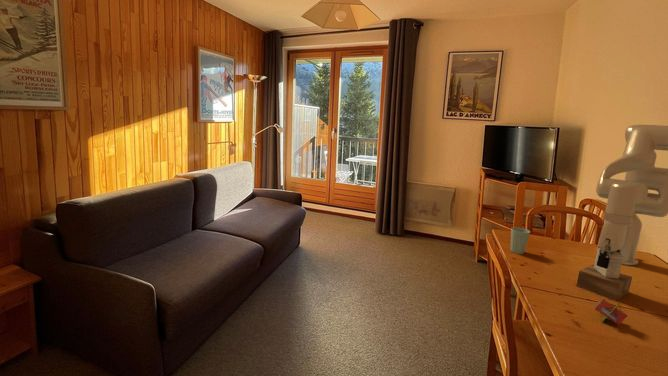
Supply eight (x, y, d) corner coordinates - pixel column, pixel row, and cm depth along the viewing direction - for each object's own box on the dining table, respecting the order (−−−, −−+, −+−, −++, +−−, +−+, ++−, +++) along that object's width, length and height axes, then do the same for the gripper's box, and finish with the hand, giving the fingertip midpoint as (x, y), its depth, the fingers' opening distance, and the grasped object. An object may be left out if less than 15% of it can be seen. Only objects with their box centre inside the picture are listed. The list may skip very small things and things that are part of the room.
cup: (525, 250, 163) (528, 228, 161) (527, 256, 156) (531, 233, 154) (507, 247, 165) (510, 226, 163) (509, 253, 158) (512, 231, 156)
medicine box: (619, 279, 122) (624, 255, 120) (604, 277, 123) (609, 254, 121) (606, 269, 129) (611, 247, 128) (592, 268, 130) (597, 246, 128)
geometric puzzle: (634, 319, 104) (618, 293, 106) (630, 327, 99) (613, 299, 101) (608, 323, 109) (593, 298, 111) (602, 331, 104) (587, 305, 106)
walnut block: (590, 278, 135) (593, 264, 134) (628, 292, 125) (632, 276, 124) (576, 285, 129) (579, 270, 127) (615, 300, 119) (619, 284, 118)
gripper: (614, 213, 129) (604, 256, 133) (594, 218, 120) (585, 265, 123) (639, 218, 123) (629, 263, 127) (621, 224, 114) (610, 273, 117)
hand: (607, 264), depth 125 cm, fingers open, 9 cm apart
